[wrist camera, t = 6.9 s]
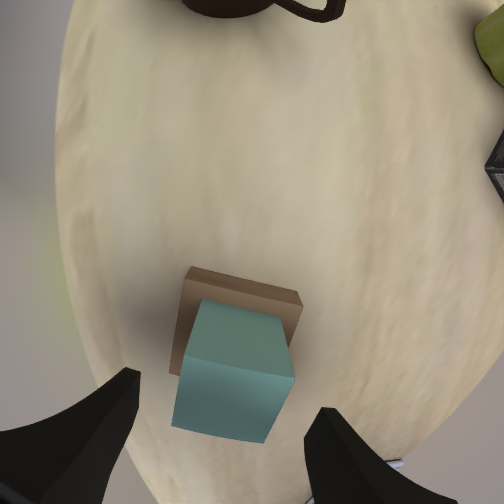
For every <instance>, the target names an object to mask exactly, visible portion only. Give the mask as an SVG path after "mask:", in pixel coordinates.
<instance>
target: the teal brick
mask: <svg viewBox="0 0 504 504" xmlns="http://www.w3.org/2000/svg"><path fill="white" fill-rule="evenodd" d="M294 380H295V375H294V371H293V367H292V363H291V359H290V355H289V350H288V346H287V342H286V338H285V334H284V330H283V326H282V322H281V318H280V317H278V316H273V315H269V314H264V313H260V312H256V311H251V310H247V309H243V308H239V307H235V306H231V305H226V304H222V303H219V302H215V301H211V300H207V299H203V298H202V301H201V304H200V307H199V310H198V313H197V316H196V319H195V322H194V326H193V329H192V332H191V335H190V338H189V341H188V344H187V347H186V351H185V354H184V358H183V363H182V368H181V374H180V379H179V384H178V390H177V395H176V401H175V407H174V412H173V418H172V424H171V426H174V427H177V428H181V429H185V430H190V431H194V432H199V433H203V434H208V435H213V436H218V437H224V438H229V439H235V440H241V441H248V442H256V443H264V441H265V439H266V437H267V435H268V433H269V432H270V430H271V428H272V426H273V424H274V422H275V420H276V418H277V416H278V414H279V412H280V410H281V407H282V405H283V403H284V401H285V399H286V397H287V395H288V393H289V391H290V389H291V386H292V384H293V382H294Z"/></svg>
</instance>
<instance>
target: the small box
mask: <svg viewBox="0 0 504 504" xmlns="http://www.w3.org/2000/svg"><path fill="white" fill-rule="evenodd" d="M485 170H486V172H487V173H488V175H489V177H490V178H491V180H492V182H493V184H494V185H495V187H496V189H497V191H498V192H499V194H500V196H501V198H502V200H503V202H504V131H503V133H502V135H501V137H500V139H499V141H498V143H497V145H496V147H495V149H494V150H493V152H492V154H491V156H490V158H489V160H488V162H487V163H486V166H485Z"/></svg>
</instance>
